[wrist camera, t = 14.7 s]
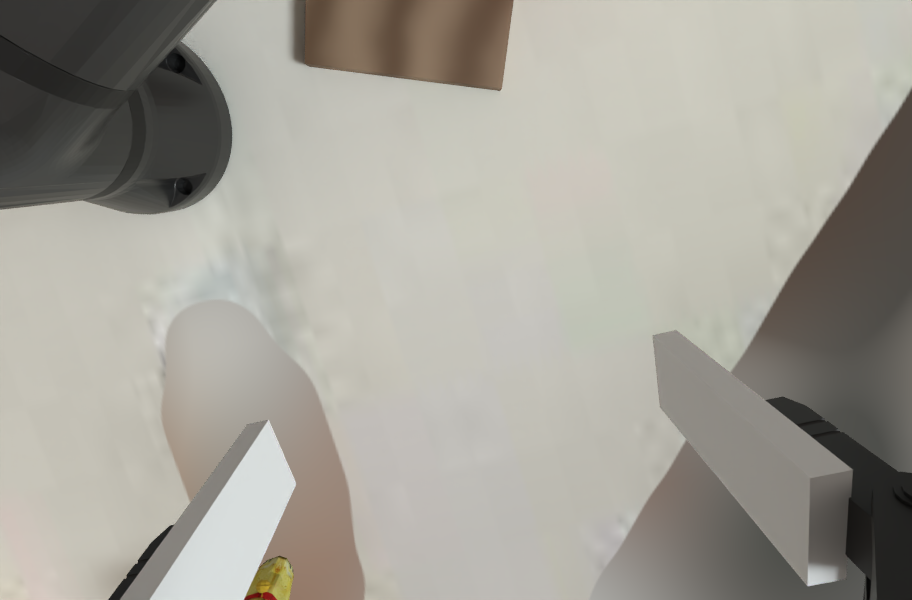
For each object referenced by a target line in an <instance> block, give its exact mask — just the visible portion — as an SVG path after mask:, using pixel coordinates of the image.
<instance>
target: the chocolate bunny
mask: <svg viewBox="0 0 912 600" xmlns="http://www.w3.org/2000/svg"><path fill="white" fill-rule="evenodd" d="M293 578H294V576H293V568H292V566H291V564H290V563H289V561H288V560H287V558H284V557H281V556H278V557H275V558H272V559H269V560H267V561H266V562H265V563H264V564H263V565H261V566H260V567H259V570H258V571H257V573H256V575H255V576H254V578H253V581H252V583H251V585H250V587H249V590H248V592H247V594H246V596H245V598H244V600H289V597H290V591H291V586H292V581H293Z"/></svg>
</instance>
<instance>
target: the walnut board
mask: <svg viewBox="0 0 912 600" xmlns="http://www.w3.org/2000/svg"><path fill="white" fill-rule="evenodd" d="M512 8H513V0H306V6H305V64H306V65H308V66H310V67H318V68H325V69H333V70H341V71H349V72H357V73H365V74H372V75H380V76H388V77H396V78H404V79H412V80H419V81H427V82H435V83H443V84H451V85H459V86H466V87H474V88H482V89H490V90H498V91H500V90H501V89H502V83H503V75H504V68H505V60H506V53H507V45H508V38H509V30H510V23H511V15H512Z"/></svg>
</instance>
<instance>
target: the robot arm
mask: <svg viewBox="0 0 912 600" xmlns="http://www.w3.org/2000/svg"><path fill="white" fill-rule="evenodd" d="M216 1H217V0H0V210H2V209H11V208H20V207H29V206H38V205H47V204H56V203H64V202H73V201H81V200H83V201H86V202H90V203H93V204H97V205H100V206H104V207H107V208H111V209H114V210H118V211H122V212H126V213H133V214H159V213H165V212H170V211H176V210H180V209H183V208H186V207H189V206H191V205H193V204H195V203H197V202H198V201H200V200H202V199H203V198H204V197H205V196H207V195H208V194H209V193H210V192H211V191H212V190H213V189H214V188H215V186H216V185H217V184H218V182H219V181H220V179H221V178H222V176H223V174H224V172H225V170H226V167H227V164H228V161H229V157H230V153H231V146H232V127H231V119H230V114H229V110H228V107H227V103H226V101H225V98H224V95H223V93H222V91H221V89H220V87H219V85H218V83H217V81H216V79H215V78H214V76H213V75H212V73H211V72H210V70H209V69H208V68H207V66H206V65H205V64H204V63H203V61H202V60H201V59H200V58H199V57H198V56H197V55H196V54H195V53H194V52H193V51H192V50H191V49H190V48H189V47H187V46H186V45H185V44H184V43H182V42H181V40H182V39H183V38H184V36H185V35H186V34H187V33H188V32H189V31H190V30H191V29H192V28H193V26H194V25H195V24H196V23H197V22H198V21H199V20H200V19H201V17H202V16H203V15H204V14H205V13H206V12H207V11H208V10H209V8H210V7H211V6H212V5H213V4H214V3H215V2H216ZM653 344H654V354H655V363H656V373H657V383H658V393H659V403H660V408H661V409H662V410H663V411H664V413H665V414H666V415H667V416H668V418H669V419H670V420H671V421H672V422H673V424H674V425H675V426H676V427H677V428H678V430H679V431H680V432H681V433H682V435H683V436H684V437H685V438H686V439H687V441H688V442H689V443H690V444H691V445H692V447H693V448H694V449H695V450H696V451H697V453H698V454H699V455H700V456H701V457H702V459H703V460H704V461H705V462H706V464H707V465H708V466H709V467H710V468H711V470H712V471H713V472H714V473H715V474H716V476H717V477H718V478H719V479H720V480H721V482H722V483H723V484H724V485H725V487H726V488H727V489H728V490H729V492H730V493H731V494H732V495H733V496H734V498H735V499H736V500H737V501H738V502H739V504H740V505H741V506H742V507H743V508H744V510H745V511H746V512H747V513H748V515H749V516H750V517H751V518H752V519H753V521H754V522H755V523H756V524H757V525H758V527H759V528H760V529H761V530H762V532H763V533H764V534H765V535H766V536H767V538H768V539H769V540H770V541H771V542H772V544H773V545H774V546H775V547H776V549H777V550H778V551H779V552H780V553H781V555H782V556H783V557H784V558H785V559H786V561H787V562H788V563H789V564H790V566H791V567H792V568H793V569H794V570H795V572H796V573H797V574H798V575H799V576H800V578H801V579H802V580H803V581H804V583H805V584H806V585H807V586H811V585H817V584H822V583H828V582H833V581H838V580H844V579H846V572H847V557H849V558H850V559H851V561H852V562H853V563H854V564H855V565H856V566H857V567H858V568H859V569H860V570H861V571H862V572H863V573H864V574H865V586H864V599H863V600H912V473H906V472H898V471H897V470H895V469H894V468H892V467H891V466H890V465H888V464H887V463H885V462H884V461H883V460H881V459H880V458H878V457H877V456H876V455H874V454H873V453H871V452H870V451H868V450H867V449H866V448H864V447H863V446H862V445H860V444H859V443H857V442H856V441H855V440H853V439H852V438H850V437H849V436H848V435H846V434H845V433H843V432H840V431H839V429H838V428H836V427H835V426H834V425H832V424H831V423H829V422H828V421H827V422H826V421H825V420H824V418H822V417H821V416H820V415H818V414H817V413H815V412H814V411H813V410H811V409H810V408H808V407H807V406H805V405H803V404H800V403H798V402H795V401H793V400H790V399H787V398H785V397H779V398H774V399H769V400H764V399H763V398H761V397H760V396H759V395H758V394H756V393H755V392H754V391H753V390H751V389H750V388H749V387H747V386H746V385H745V384H744V383H743V382H741V381H740V380H739V379H737V378H736V377H735V376H734V375H732V374H731V373H730V372H729V371H727V370H726V369H725V368H724V367H722V366H721V365H720V364H718V363H717V362H716V361H715V360H713V359H712V358H711V357H710V356H708V355H707V354H706V353H705V352H703V351H702V350H701V349H699V348H698V347H697V346H696V345H694V344H693V343H692V342H691V341H689V340H688V339H687V338H686V337H684V336H683V335H682V334H680V333H679V332H678V331H677V330H675V331H670V332H666V333H661V334H657V335H653ZM295 486H296V482H295V479H294V477H293V475H292V473H291V470H290V469H289V466H288V463H287V461H286V459H285V456H284V454H283V452H282V450H281V447H280V445H279V443H278V440H277V438H276V436H275V433H274V431H273V429H272V427H271V424H270V422H269V420H266V421H262V422H256V423H252V424H248V425H247V426H246V427H245V429H244V430H243V431H242V433H241V434H240V436H239V437H238V438H237V440H236V441H235V442H234V444H233V445H232V446H231V448H230V449H229V450H228V452H227V453H226V455H225V456H224V457H223V459H222V460H221V462H220V463H219V464H218V466H217V467H216V468H215V470H214V471H213V472H212V474H211V475H210V477H209V478H208V479H207V481H206V482H205V483H204V485H203V486H202V488H201V489H200V491H199V492H198V493H197V494H196V496H195V497H194V499H193V500H192V501H191V503H190V504H189V505H188V507H187V508H186V509H185V511H184V512H183V514H182V515H181V516H180V518H179V519H178V520H177V522H176V523H175V525H171V526H169V527H168V528H167V529H166V530H165V531H164V532H162V533H161V534H160V535H159V536H158V537H157V538H156V539H155V540H154V541H153V542H151V544H150V545H149V546H148V548H147V549H146V550H145V552H144V553H143V554H142V556H141V557H140V558H139V560H138V564H135V565H134V566H133V568H132V569H131V570H130V572H129V573H128V574H127V578H126V579H124V580H123V581H122V582H121V584H120V585H119V586H118V588H117V589H116V590H115V592H114V593H113V594H112V596H111V597H110V598H109V600H244V598H245V596H246V594H247V592H248V590H249V587H250V585H251V583H252V581H253V578H254V576H255V574H256V572H257V570H258V567H259V565H260V563H261V561H262V559H263V556H264V554H265V552H266V550H267V548H268V545H269V543H270V541H271V539H272V536H273V534H274V532H275V530H276V528H277V525H278V523H279V521H280V519H281V517H282V514H283V512H284V510H285V508H286V505H287V503H288V501H289V499H290V497H291V494H292V492H293V490H294V488H295Z"/></svg>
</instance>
